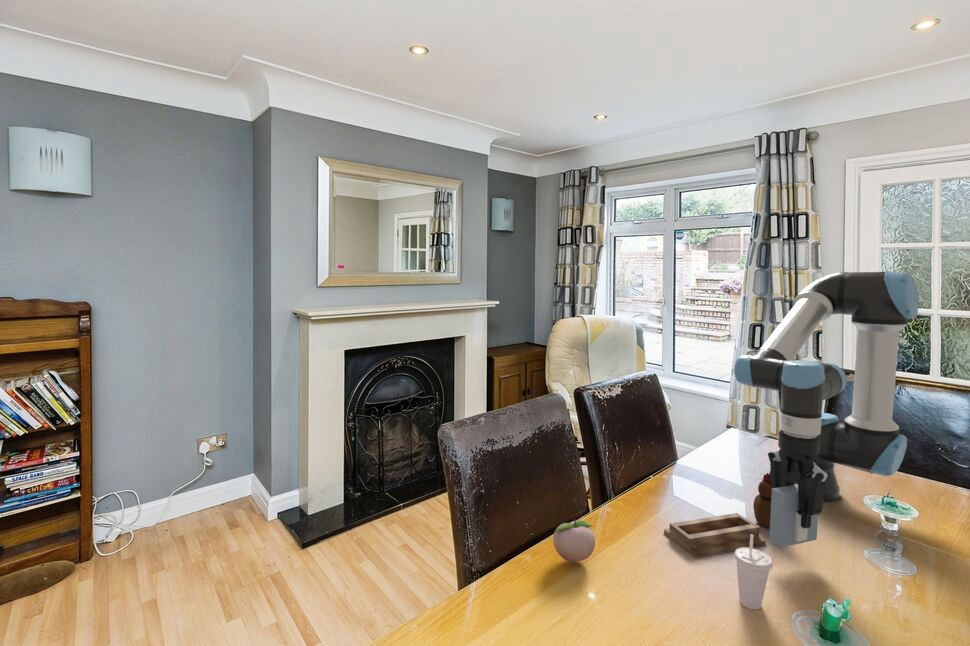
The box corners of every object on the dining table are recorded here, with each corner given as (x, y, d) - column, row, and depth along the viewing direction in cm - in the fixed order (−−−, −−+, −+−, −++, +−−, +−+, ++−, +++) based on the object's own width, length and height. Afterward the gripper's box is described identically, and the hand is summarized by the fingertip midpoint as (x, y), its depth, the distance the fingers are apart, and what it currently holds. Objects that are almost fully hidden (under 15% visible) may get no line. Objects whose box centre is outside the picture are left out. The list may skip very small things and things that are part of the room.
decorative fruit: (569, 579, 102) (570, 533, 101) (546, 558, 109) (547, 516, 108) (603, 566, 106) (605, 523, 105) (580, 548, 113) (581, 507, 112)
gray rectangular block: (804, 532, 110) (807, 482, 109) (816, 539, 108) (819, 488, 106) (769, 540, 108) (771, 488, 106) (780, 547, 105) (783, 494, 104)
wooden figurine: (784, 532, 121) (788, 474, 119) (758, 530, 122) (762, 472, 120) (773, 519, 127) (777, 464, 126) (749, 517, 129) (753, 462, 127)
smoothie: (725, 593, 98) (729, 526, 96) (755, 591, 98) (759, 525, 97) (744, 615, 91) (749, 544, 90) (777, 613, 92) (781, 543, 90)
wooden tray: (730, 522, 126) (731, 509, 125) (765, 544, 115) (766, 531, 115) (664, 532, 120) (664, 519, 120) (694, 557, 110) (695, 543, 109)
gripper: (755, 423, 112) (750, 520, 114) (820, 447, 96) (813, 559, 99) (781, 419, 114) (775, 515, 116) (849, 443, 98) (841, 552, 101)
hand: (793, 535), depth 108 cm, fingers closed on gray rectangular block, 3 cm apart
